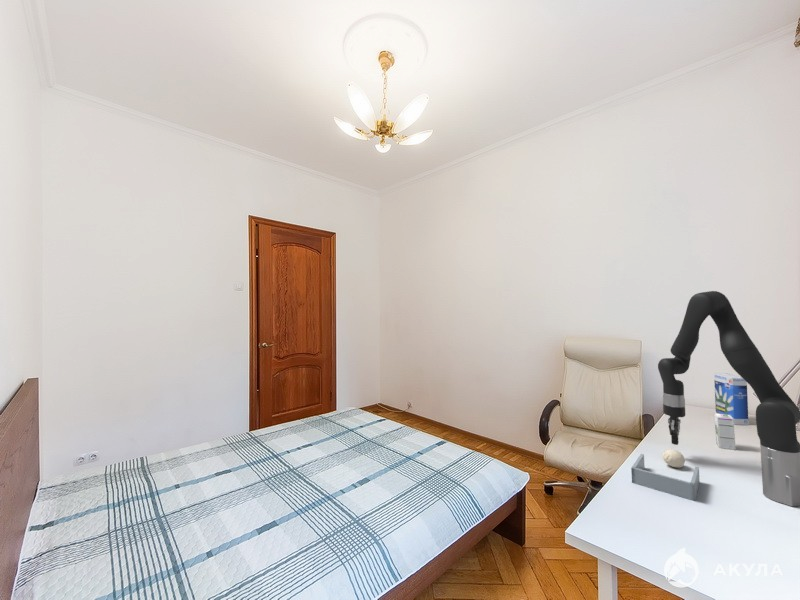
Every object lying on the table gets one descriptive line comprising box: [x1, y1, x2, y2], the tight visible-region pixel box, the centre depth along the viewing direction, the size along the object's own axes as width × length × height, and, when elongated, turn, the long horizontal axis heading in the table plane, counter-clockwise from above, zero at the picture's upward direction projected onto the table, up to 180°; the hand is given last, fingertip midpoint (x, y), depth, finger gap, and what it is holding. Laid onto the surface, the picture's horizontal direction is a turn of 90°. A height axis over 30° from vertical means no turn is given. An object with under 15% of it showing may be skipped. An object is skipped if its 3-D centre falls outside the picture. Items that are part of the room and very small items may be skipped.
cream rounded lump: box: [662, 448, 686, 469], centre depth 139 cm, size 7×7×7 cm
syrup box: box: [713, 413, 736, 451], centre depth 157 cm, size 6×6×14 cm
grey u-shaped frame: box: [631, 453, 701, 502], centre depth 127 cm, size 17×18×6 cm
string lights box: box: [713, 372, 749, 426], centre depth 191 cm, size 13×8×26 cm, turn 172°
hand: (675, 443), depth 147 cm, fingers closed
